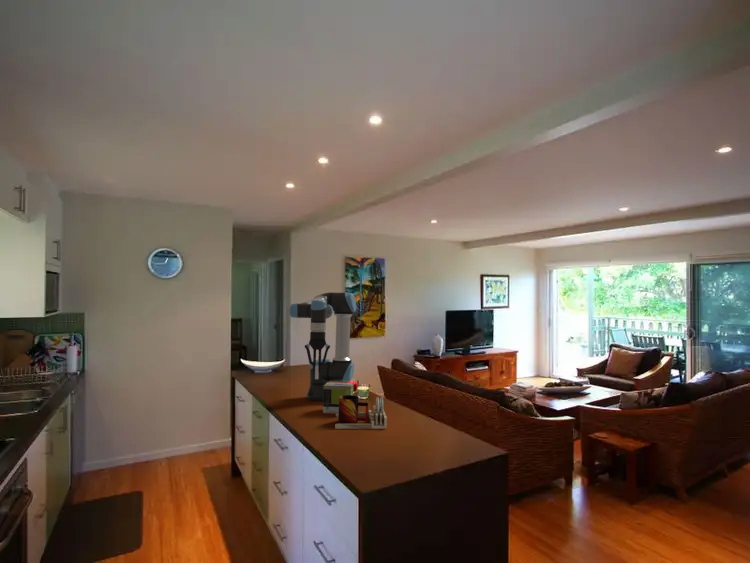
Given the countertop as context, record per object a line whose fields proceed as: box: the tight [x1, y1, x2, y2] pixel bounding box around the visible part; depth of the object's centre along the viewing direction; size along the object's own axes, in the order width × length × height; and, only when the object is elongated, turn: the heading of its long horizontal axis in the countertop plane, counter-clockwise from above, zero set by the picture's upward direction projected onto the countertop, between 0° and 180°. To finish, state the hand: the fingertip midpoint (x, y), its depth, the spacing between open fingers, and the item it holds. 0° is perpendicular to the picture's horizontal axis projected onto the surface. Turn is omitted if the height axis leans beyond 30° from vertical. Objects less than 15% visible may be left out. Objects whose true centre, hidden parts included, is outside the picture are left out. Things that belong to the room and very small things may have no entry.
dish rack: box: [334, 396, 388, 430], centre depth 207 cm, size 22×24×12 cm
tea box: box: [322, 382, 354, 414], centre depth 226 cm, size 15×10×15 cm
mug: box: [337, 394, 369, 424], centre depth 207 cm, size 10×14×12 cm
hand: (316, 378), depth 209 cm, fingers closed
